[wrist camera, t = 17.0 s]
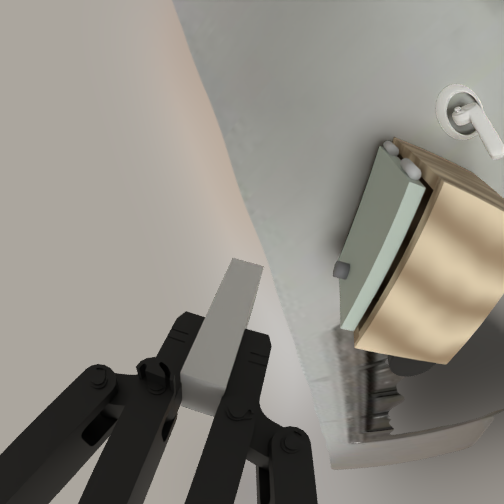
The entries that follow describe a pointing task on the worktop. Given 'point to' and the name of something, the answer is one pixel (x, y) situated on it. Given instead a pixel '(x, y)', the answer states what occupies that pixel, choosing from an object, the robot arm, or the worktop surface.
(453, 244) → the cabinet
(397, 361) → the jar
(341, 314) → the door
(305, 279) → the worktop surface
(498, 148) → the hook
